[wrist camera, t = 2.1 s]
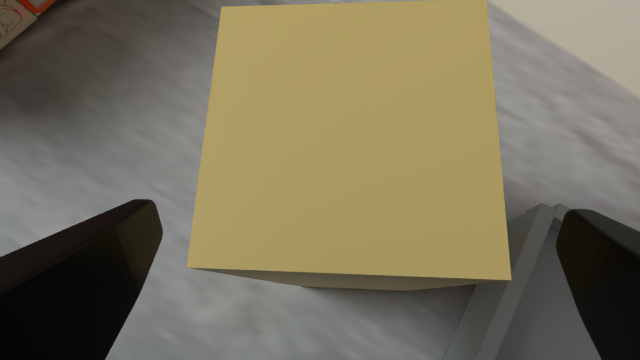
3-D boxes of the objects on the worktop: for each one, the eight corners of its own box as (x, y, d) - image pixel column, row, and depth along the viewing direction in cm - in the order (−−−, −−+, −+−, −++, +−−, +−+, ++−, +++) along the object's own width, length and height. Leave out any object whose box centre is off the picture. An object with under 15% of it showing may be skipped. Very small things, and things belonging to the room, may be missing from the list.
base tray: (619, 492, 14) (722, 570, 10) (429, 380, 16) (453, 409, 12) (679, 305, 16) (790, 308, 12) (500, 219, 17) (544, 196, 13)
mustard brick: (405, 290, 17) (511, 280, 5) (300, 286, 17) (186, 267, 6) (403, 188, 18) (486, -2, 6) (306, 186, 18) (221, 6, 7)
